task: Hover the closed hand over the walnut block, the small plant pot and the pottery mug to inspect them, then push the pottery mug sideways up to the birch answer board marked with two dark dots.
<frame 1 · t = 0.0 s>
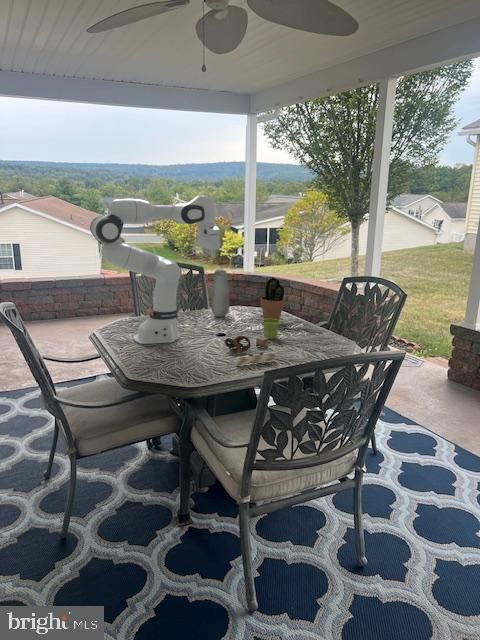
hand: (209, 257, 225), 39 cm above the table, tool pointing down, fingers open, 8 cm apart
walnut block: (261, 346, 216), on the table
plant pot: (270, 337, 230), on the table
potted plant: (271, 321, 262), on the table
answer board: (255, 363, 192), on the table
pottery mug: (237, 351, 208), on the table
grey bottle: (220, 316, 267), on the table
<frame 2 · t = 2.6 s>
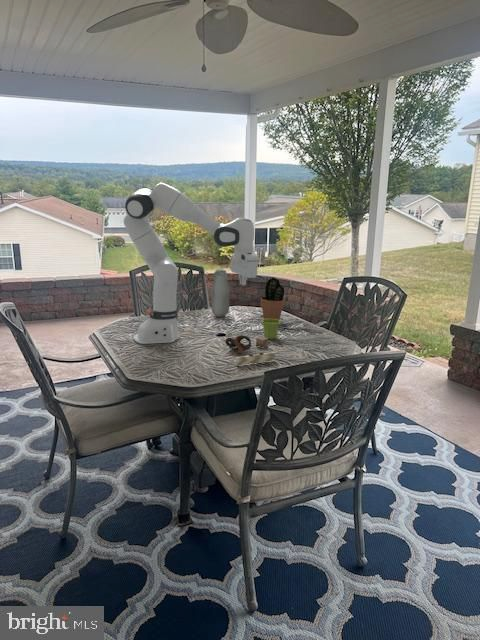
hand: (242, 284, 210), 29 cm above the table, tool pointing down, fingers closed
nothing on the table moved.
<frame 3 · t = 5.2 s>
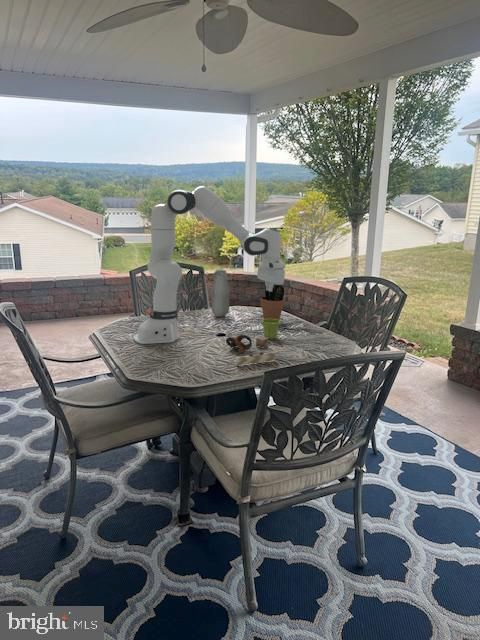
hand: (269, 290, 222), 24 cm above the table, tool pointing down, fingers closed
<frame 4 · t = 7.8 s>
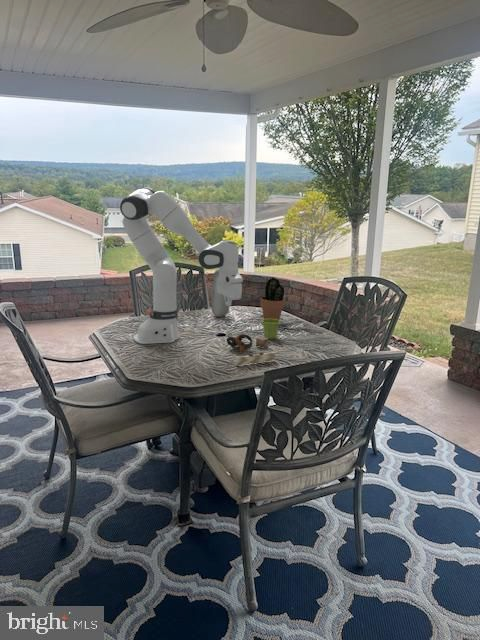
hand: (228, 305, 212), 19 cm above the table, tool pointing down, fingers closed
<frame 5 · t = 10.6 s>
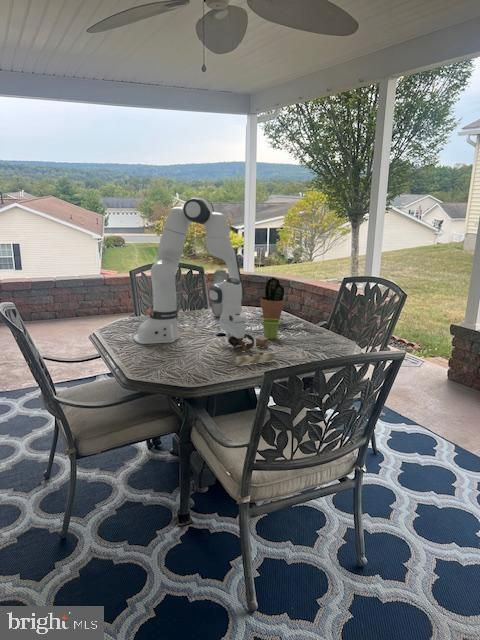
hand: (231, 342, 213), 2 cm above the table, tool pointing down, fingers closed
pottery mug: (240, 349, 210), on the table, touching gripper
everything else where it was.
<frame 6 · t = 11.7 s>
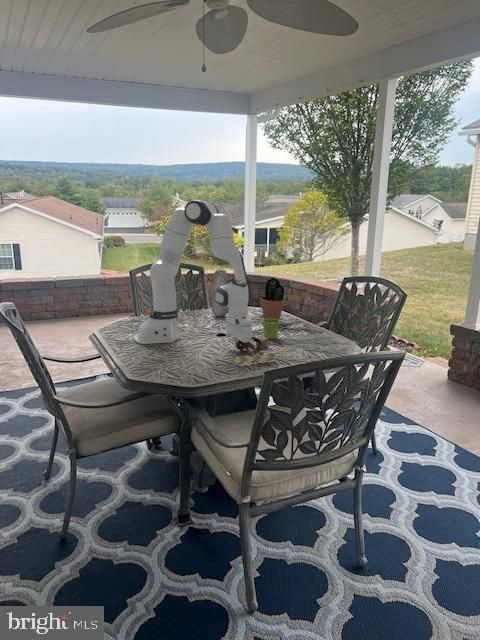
hand: (237, 346, 208), 2 cm above the table, tool pointing down, fingers closed
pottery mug: (248, 353, 206), on the table, touching gripper
everything else where it was.
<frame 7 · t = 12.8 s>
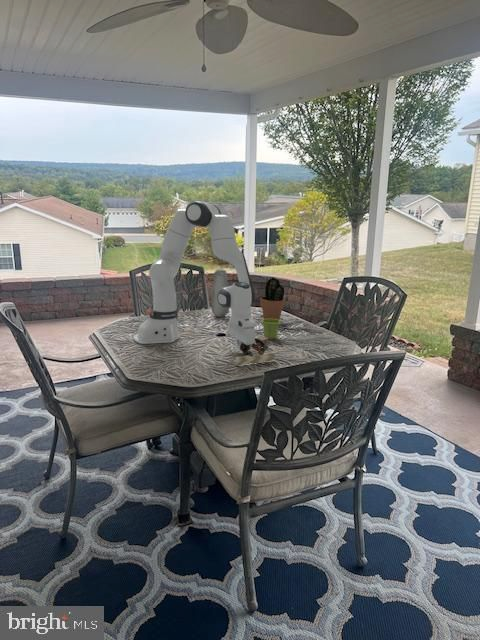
hand: (240, 348, 205), 2 cm above the table, tool pointing down, fingers closed
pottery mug: (251, 355, 204), on the table, touching gripper
everything else where it was.
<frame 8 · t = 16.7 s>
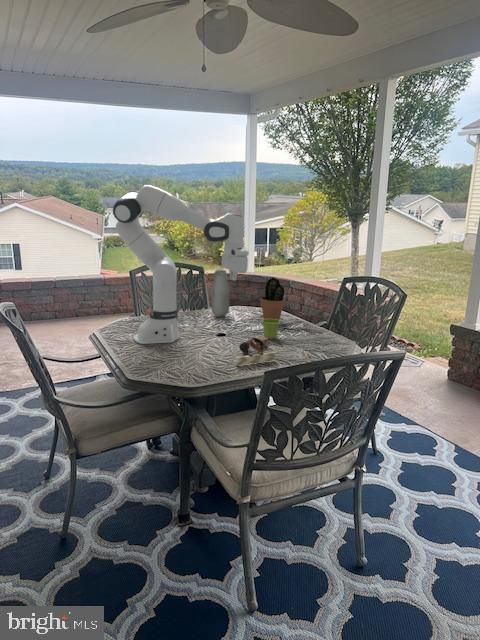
hand: (233, 280, 209), 31 cm above the table, tool pointing down, fingers closed
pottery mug: (250, 354, 205), on the table
everything else where it was.
at the end: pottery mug inside the target area (6.4 cm from its centre), on the table; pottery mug moved 6.9 cm from its start; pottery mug tilted 0° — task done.
